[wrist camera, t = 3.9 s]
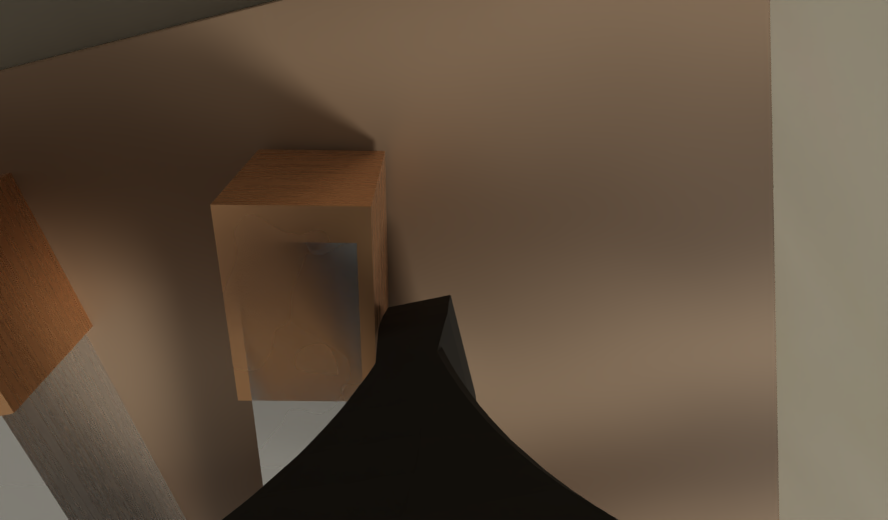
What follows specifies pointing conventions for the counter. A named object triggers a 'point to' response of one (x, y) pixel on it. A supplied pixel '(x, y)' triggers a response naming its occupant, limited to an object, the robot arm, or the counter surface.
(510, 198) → the walnut board
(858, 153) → the counter surface
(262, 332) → the tongs swing arm
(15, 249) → the tongs fixed arm
